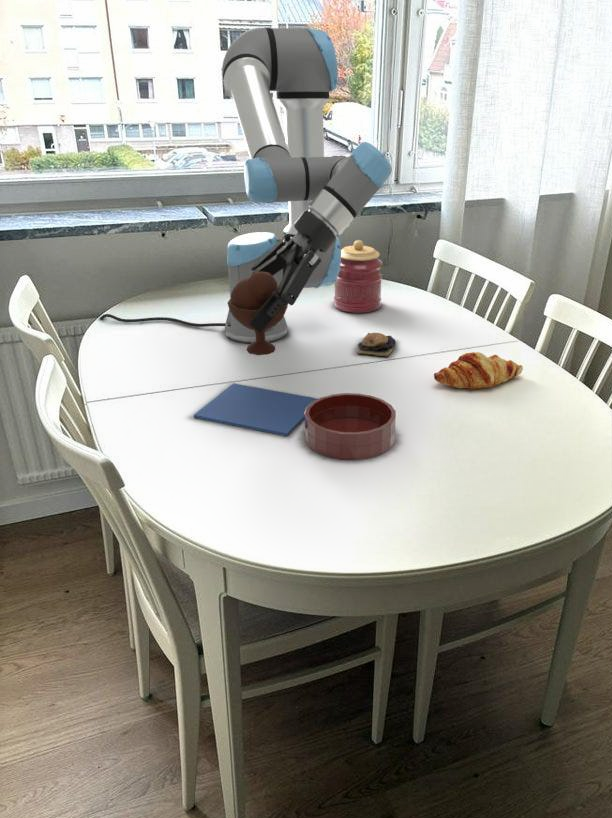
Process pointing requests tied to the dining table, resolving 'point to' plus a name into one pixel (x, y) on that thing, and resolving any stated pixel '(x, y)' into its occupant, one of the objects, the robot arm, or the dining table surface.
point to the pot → (350, 426)
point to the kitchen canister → (358, 279)
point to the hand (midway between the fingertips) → (244, 317)
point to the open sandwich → (376, 344)
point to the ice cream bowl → (255, 307)
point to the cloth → (257, 409)
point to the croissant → (477, 371)
